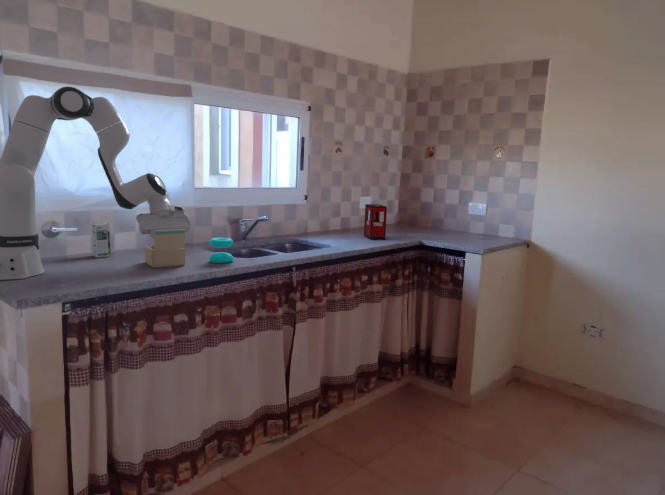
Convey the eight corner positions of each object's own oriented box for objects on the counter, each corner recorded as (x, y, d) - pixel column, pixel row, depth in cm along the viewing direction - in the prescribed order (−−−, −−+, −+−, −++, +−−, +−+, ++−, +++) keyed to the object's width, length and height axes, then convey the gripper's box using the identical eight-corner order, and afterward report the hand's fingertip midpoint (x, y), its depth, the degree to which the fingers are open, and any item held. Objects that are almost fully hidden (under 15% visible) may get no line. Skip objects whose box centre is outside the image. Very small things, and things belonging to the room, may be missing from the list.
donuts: (234, 240, 199) (210, 240, 196) (234, 263, 201) (210, 264, 198) (231, 236, 209) (208, 237, 205) (231, 259, 210) (208, 259, 207)
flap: (154, 250, 185) (155, 230, 182) (154, 249, 185) (154, 230, 182) (184, 248, 191) (185, 229, 188) (183, 247, 192) (184, 229, 189)
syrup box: (96, 257, 202) (95, 224, 200) (93, 255, 207) (91, 222, 204) (111, 256, 206) (109, 223, 204) (107, 254, 210) (105, 222, 208)
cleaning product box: (385, 240, 283) (386, 206, 280) (370, 240, 282) (372, 206, 278) (377, 236, 299) (379, 204, 296) (363, 236, 298) (365, 204, 294)
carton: (152, 268, 186) (152, 250, 185) (144, 262, 197) (143, 245, 196) (185, 265, 193) (185, 248, 192) (176, 259, 204) (175, 243, 203)
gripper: (136, 208, 186) (143, 237, 179) (188, 207, 197) (196, 234, 191) (134, 219, 190) (140, 246, 184) (185, 217, 202) (192, 243, 195)
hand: (169, 240), depth 188 cm, fingers open, 8 cm apart
